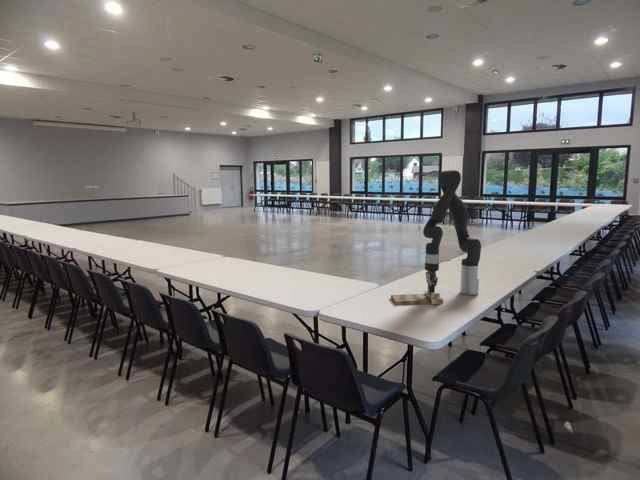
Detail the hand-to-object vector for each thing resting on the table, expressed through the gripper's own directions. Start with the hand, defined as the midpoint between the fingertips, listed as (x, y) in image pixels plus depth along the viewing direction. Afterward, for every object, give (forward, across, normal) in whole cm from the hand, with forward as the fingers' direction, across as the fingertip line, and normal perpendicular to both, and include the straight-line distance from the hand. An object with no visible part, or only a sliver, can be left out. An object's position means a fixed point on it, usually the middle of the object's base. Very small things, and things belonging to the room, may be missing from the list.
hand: (431, 291), depth 226 cm
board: (+5, 0, +8) cm, 10 cm away
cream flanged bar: (+5, 0, 0) cm, 5 cm away
